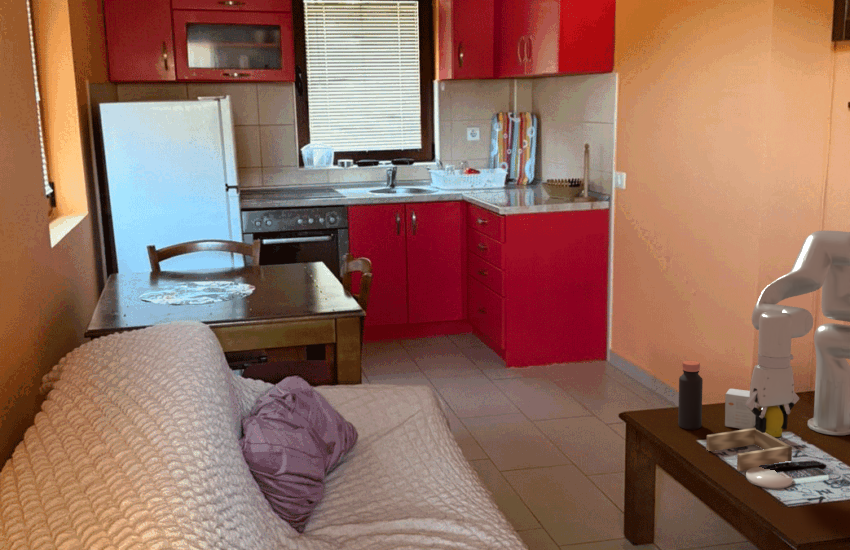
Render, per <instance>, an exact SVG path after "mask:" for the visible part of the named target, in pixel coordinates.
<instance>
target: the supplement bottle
mask: <svg viewBox="0 0 850 550" xmlns="http://www.w3.org/2000/svg"><path fill="white" fill-rule="evenodd" d="M765 433H767V434H769V435H771V436H773V437H775V438H776V439H780V440H781V439H782V438H783V429H782V428H780V429H779V430H778V431H776V432H773V433H772V434H770V433H769V432H768V431H766V432H765Z"/></svg>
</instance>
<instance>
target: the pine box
mask: <svg viewBox="0 0 850 550" xmlns="http://www.w3.org/2000/svg"><path fill="white" fill-rule="evenodd" d="M754 444H755V446H756V445H757V446H756V447H758V446H759V447H758V448H760V447H761V448H762V449H761V448H760V449H759V450H752V451H746V452H740V453H736V455H737V457H736V458H737V459H736V471H738V472H744V471H746V472H747V470H749V469H751V468H754V467H759V466H760V465H765V464H774V463H779V462H785V461H792V460H793V446H791V445H790V444H787V443H785V442H784V441H782V440H781V439H780V440H778V439H776V438H775V437H773V436H771V435H769V434H767V433H762V432H760V431H758V430H756V428H755V427H754V428H750V429H739V430H732V431H725V432H717V433H711V434H707V435H706V446H705V447H706V448H705V450H706V451H707V450H708V451H711V452H716V451H715V450H717V451H722V450H723V449H724V450H728V449H735V448H741V447H742V448H743V447H748V446H754ZM763 449H764V450H763ZM724 450H723V451H724ZM708 451H707V452H708ZM792 462H793V461H792Z"/></svg>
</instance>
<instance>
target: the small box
mask: <svg viewBox="0 0 850 550" xmlns="http://www.w3.org/2000/svg"><path fill="white" fill-rule="evenodd" d="M749 398H750V390H747V389H746V390H745V389H744V390H743V389H737V388H729V389H728V390H727V392H726V393H725V400H724V401H725V402H724V403H725V404H724V426H725V427H727V428H734V429H739V430H743V429H750V428H755V418H756V415H754V414H753V412H752V411H751V410H750V409H749V408H747V407H746V406H745V403H746V402H747V400H748V399H749ZM756 403H757V402H755V403H754V406H756Z"/></svg>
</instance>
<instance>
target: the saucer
mask: <svg viewBox="0 0 850 550" xmlns="http://www.w3.org/2000/svg"><path fill="white" fill-rule="evenodd" d="M745 478H746V480H747V481H748V482H749V483H750V484H752V485H754V486H758V487H760V488H765V489H772V490H773V489H774V490H778V489H780V490H781V489H787V488H790V487H791V486H792V485H793V481H794V480H793V479H794V478H793V476H792V475H791V477H790V478H786V477H782V476H780V475H778V474H777V472H776V471H775V470H770V469H764V468H762V467H754V468H751V469H749V470H746V473H745ZM792 480H793V481H792Z"/></svg>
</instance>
